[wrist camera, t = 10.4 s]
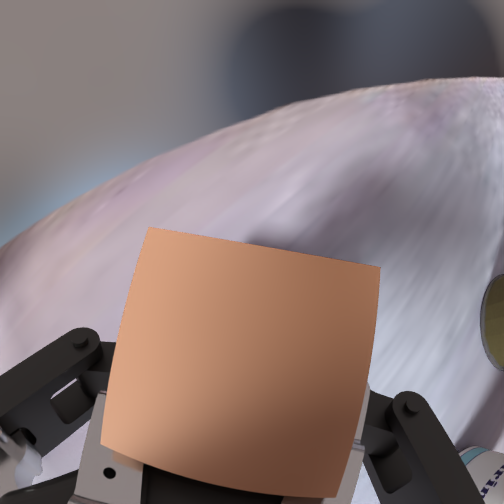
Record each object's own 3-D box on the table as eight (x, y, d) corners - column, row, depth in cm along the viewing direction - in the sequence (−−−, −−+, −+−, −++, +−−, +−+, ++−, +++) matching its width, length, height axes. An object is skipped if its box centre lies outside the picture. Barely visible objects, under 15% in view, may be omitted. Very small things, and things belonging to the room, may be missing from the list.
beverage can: (462, 433, 17) (552, 453, 5) (488, 458, 15) (564, 477, 4) (415, 491, 15) (489, 541, 4) (446, 510, 13) (512, 549, 2)
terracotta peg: (212, 382, 15) (100, 444, 3) (226, 315, 16) (148, 226, 5) (282, 396, 14) (335, 497, 3) (296, 328, 16) (380, 267, 4)
